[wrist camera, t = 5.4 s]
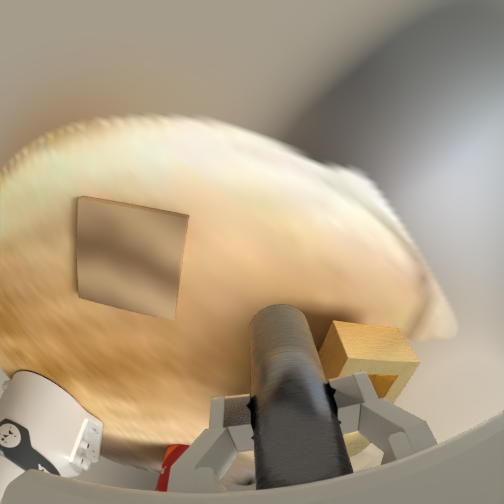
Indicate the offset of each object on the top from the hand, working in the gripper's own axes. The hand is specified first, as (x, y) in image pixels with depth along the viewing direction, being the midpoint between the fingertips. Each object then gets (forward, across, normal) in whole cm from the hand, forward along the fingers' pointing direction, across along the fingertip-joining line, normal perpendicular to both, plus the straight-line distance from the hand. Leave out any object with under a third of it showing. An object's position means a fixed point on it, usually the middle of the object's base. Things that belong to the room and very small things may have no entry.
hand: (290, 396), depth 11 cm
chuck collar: (+13, +5, -15) cm, 21 cm away
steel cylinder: (+5, 0, 0) cm, 5 cm away
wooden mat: (+17, -12, +1) cm, 21 cm away
